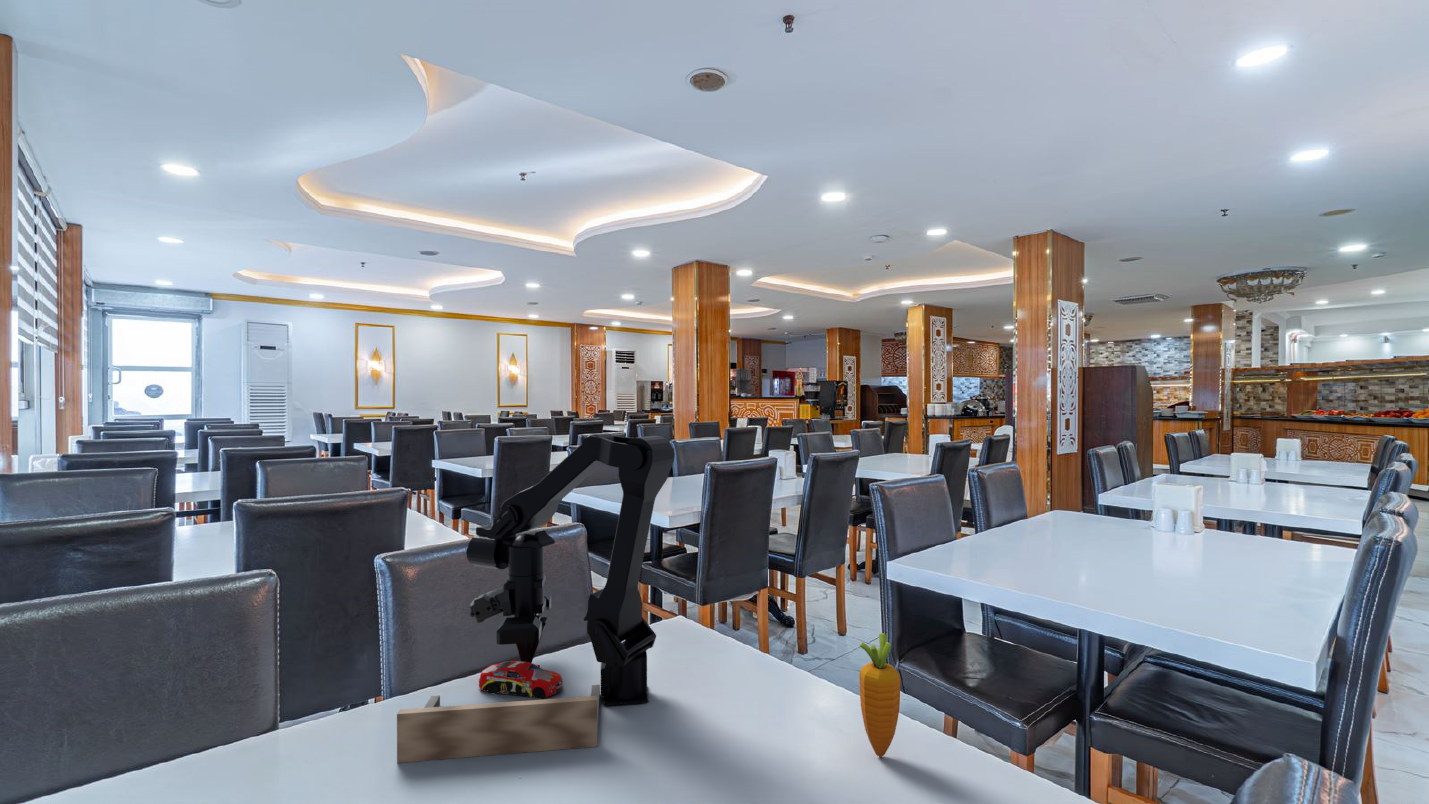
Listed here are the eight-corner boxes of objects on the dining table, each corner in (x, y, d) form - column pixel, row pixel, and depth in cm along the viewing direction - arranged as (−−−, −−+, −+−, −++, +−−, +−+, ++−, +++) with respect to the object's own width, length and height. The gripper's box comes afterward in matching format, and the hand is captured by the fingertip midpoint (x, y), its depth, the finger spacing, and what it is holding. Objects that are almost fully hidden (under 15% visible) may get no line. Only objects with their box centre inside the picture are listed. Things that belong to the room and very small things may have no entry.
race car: (569, 687, 102) (569, 662, 101) (552, 703, 96) (552, 676, 96) (494, 678, 105) (494, 654, 105) (473, 693, 99) (473, 667, 99)
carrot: (878, 772, 77) (877, 646, 77) (851, 752, 82) (850, 633, 82) (909, 761, 80) (909, 639, 80) (881, 742, 84) (881, 627, 84)
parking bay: (599, 694, 98) (599, 654, 98) (596, 746, 83) (596, 699, 83) (431, 706, 95) (431, 665, 95) (397, 763, 80) (396, 714, 80)
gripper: (486, 560, 114) (487, 649, 114) (460, 591, 96) (461, 696, 96) (551, 557, 116) (552, 645, 116) (538, 587, 97) (538, 691, 97)
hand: (526, 667), depth 106 cm, fingers closed
